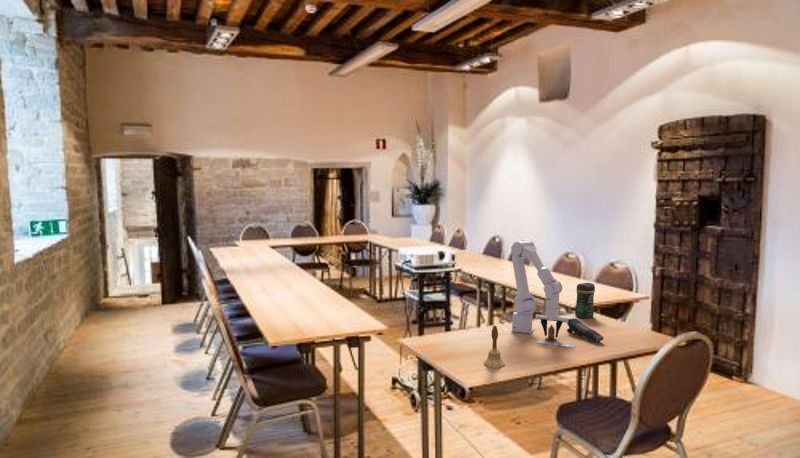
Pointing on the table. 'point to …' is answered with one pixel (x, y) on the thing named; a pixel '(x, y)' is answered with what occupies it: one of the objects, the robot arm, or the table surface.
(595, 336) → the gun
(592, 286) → the coffee jar
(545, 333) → the robot arm
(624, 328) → the table surface
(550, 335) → the awl
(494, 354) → the hand bell
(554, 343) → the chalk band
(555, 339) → the coaster
